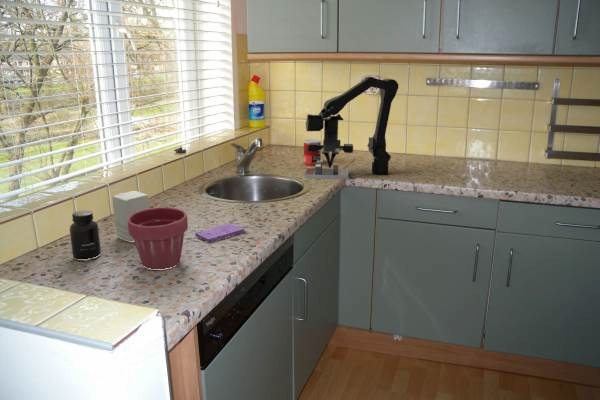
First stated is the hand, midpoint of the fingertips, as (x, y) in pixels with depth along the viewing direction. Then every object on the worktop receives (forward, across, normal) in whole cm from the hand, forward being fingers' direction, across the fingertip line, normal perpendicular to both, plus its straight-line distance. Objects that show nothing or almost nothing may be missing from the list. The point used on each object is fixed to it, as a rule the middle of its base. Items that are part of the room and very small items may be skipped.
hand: (330, 167), depth 214 cm
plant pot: (+4, -36, -96) cm, 103 cm away
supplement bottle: (+4, -56, -94) cm, 110 cm away
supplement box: (+4, -50, -79) cm, 94 cm away
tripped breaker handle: (+1, +2, 0) cm, 3 cm away
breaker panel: (+3, -1, 0) cm, 3 cm away
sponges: (+4, -27, -74) cm, 79 cm away
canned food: (+4, -10, +20) cm, 23 cm away
